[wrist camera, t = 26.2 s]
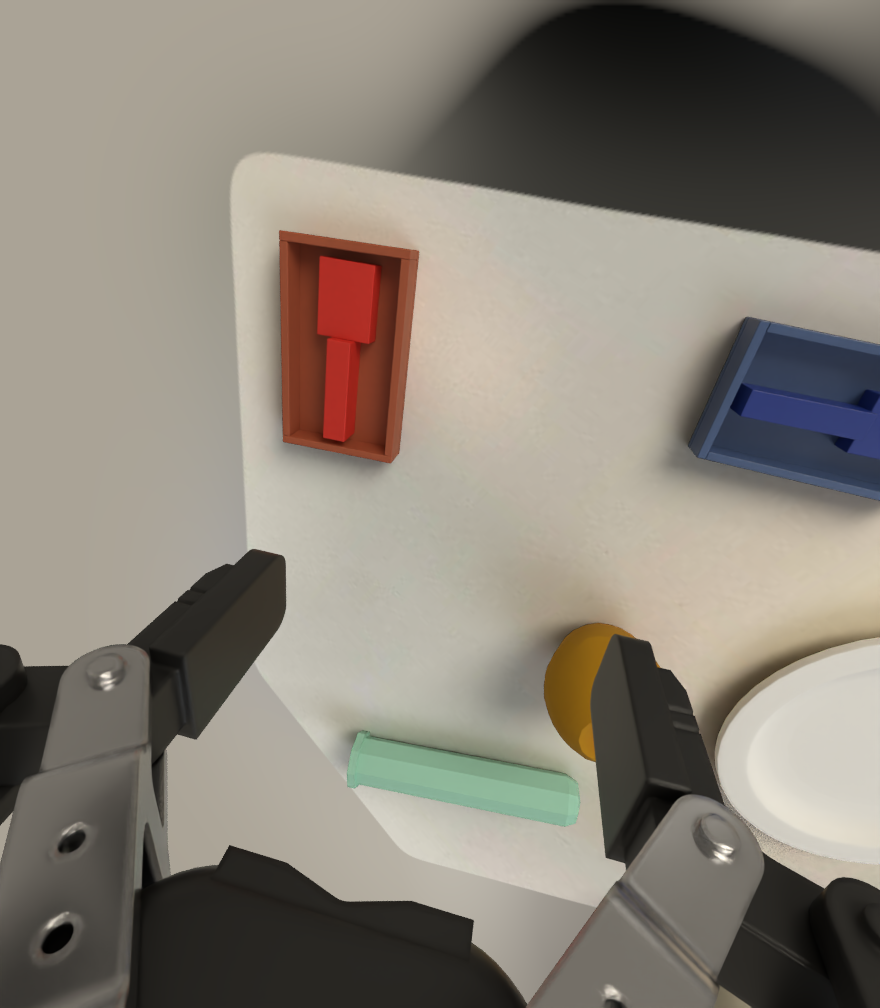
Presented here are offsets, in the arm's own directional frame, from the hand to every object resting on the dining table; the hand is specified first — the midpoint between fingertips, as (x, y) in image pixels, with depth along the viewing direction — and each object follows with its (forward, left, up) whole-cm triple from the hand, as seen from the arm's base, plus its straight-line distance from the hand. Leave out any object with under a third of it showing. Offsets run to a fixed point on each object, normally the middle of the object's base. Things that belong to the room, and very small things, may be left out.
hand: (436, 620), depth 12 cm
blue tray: (+5, +21, -28) cm, 35 cm away
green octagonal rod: (+42, -10, -28) cm, 51 cm away
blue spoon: (+5, +21, -28) cm, 35 cm away
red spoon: (-4, -12, -28) cm, 30 cm away
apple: (+25, +5, -28) cm, 38 cm away
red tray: (-4, -12, -28) cm, 31 cm away
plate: (+37, +29, -28) cm, 55 cm away
